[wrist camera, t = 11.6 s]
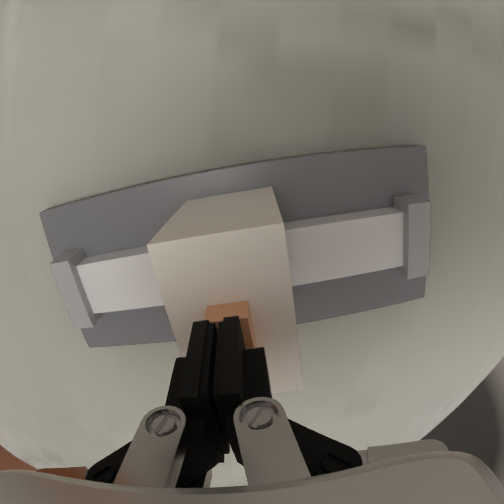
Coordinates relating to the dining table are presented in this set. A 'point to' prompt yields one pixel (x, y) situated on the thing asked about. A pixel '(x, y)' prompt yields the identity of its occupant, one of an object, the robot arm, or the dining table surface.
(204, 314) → the block
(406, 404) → the dining table surface
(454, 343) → the dining table surface
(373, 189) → the rail plate
